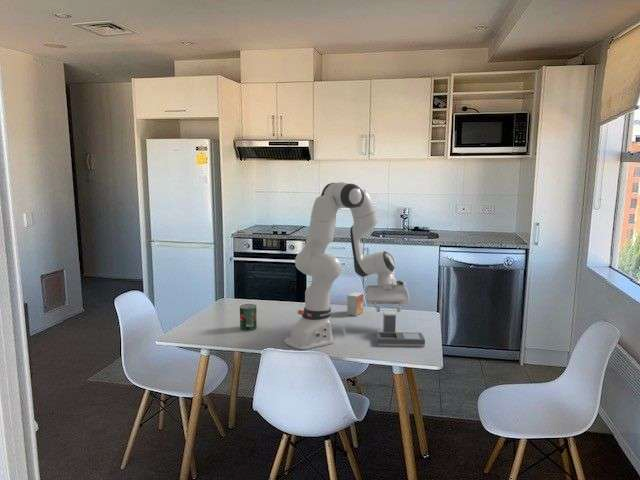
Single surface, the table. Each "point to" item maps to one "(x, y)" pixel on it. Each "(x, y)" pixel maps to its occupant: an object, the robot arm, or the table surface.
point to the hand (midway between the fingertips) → (388, 311)
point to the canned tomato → (248, 317)
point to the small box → (355, 304)
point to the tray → (382, 330)
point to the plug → (389, 321)
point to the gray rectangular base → (399, 339)
